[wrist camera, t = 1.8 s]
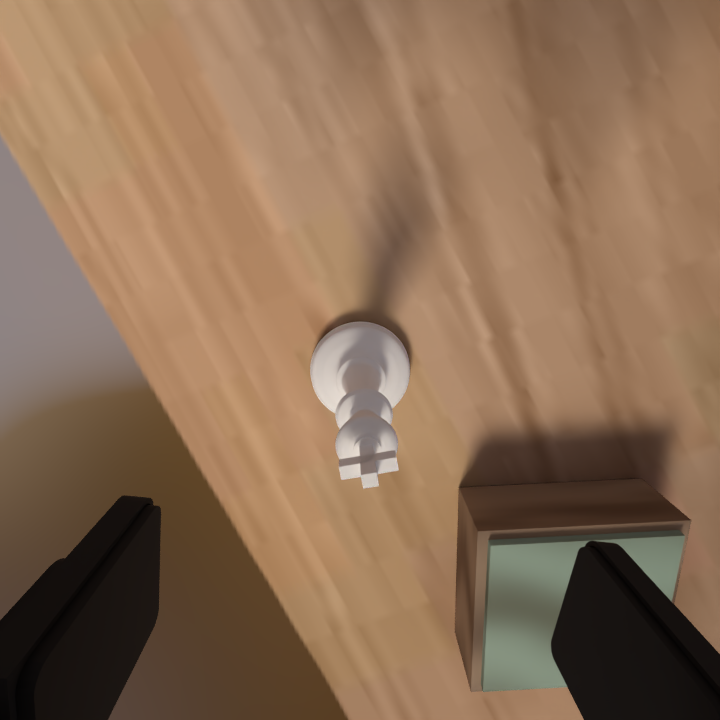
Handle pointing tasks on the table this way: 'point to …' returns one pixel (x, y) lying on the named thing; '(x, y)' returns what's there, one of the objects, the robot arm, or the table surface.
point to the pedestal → (546, 566)
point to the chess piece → (362, 395)
